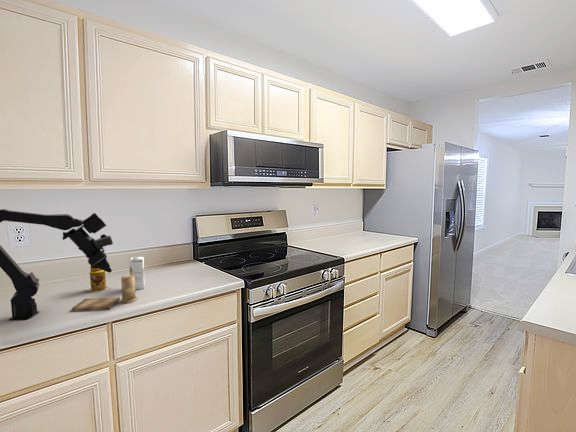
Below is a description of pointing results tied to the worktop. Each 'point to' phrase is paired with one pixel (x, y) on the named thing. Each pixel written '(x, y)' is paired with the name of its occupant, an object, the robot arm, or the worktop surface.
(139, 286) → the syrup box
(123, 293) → the wooden chess pawn
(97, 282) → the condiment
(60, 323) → the worktop surface
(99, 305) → the walnut board
